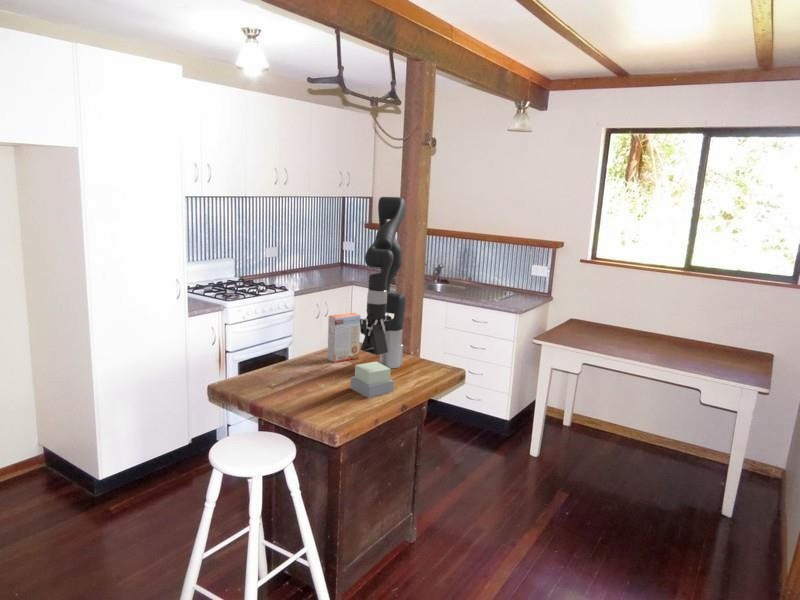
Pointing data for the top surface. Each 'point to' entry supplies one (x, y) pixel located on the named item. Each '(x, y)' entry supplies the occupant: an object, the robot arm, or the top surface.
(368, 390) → the tower base slab
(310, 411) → the top surface
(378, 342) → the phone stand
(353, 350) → the cracker box
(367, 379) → the tower top block
